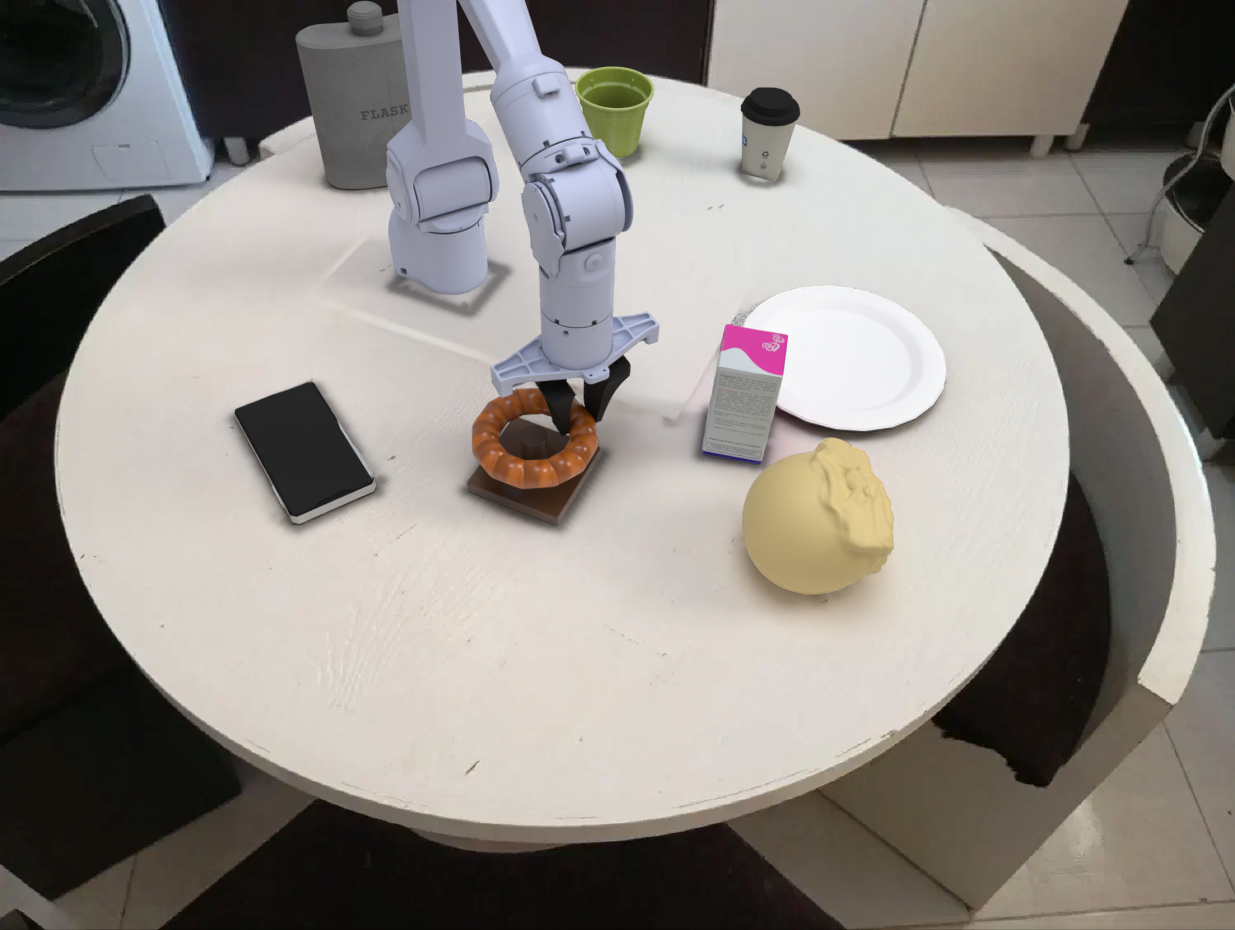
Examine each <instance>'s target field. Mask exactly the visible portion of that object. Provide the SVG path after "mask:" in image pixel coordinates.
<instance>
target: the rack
mask: <svg viewBox="0 0 1235 930" xmlns="http://www.w3.org/2000/svg"><path fill="white" fill-rule="evenodd" d="M569 440H570V437H569V434H567V435H564V436H562V435H561V434H560V433H559V431H558V430H555V429H551V428H549V427H547V426H543V425H541V424H538V423H535V422H533V421H530V420H527V419H524V418H522V417H519V418H517V419H515V420H513V421H511V422H509V423H507V425H506V426H505V427H504V429H503V430H502V432H501V433H500V444H501V446H502V447H503V448H504V449H505V450H506V451H507V453H508V454H510V455H513V456H516V457H518V458H521V459H524V460H539V459H548V458H550V457H552V456H554V455H556V454H557V453H559V452H561V451H563V450H564V448H565V447H566V445H567V443H568V442H569ZM601 457H602V447H601V446H599V445H598V447H597V449H596V451H595V453H594V454H593V456H592V458H591V459H590V461H589V463H588V464H587V466H586V468H585V469H584V471H583V472H581V473H580V474H578V475H576V476H574V477H573V478H571V479H569V480H567V481H565V482H563V483H561V484H560V485H558V486H555V487H549V488H533V489H520V488H517V487H514V486H512V485H509V484H506V483H504V482H501V481H499V480H496V479H494V478H492V477H491V476H490V475H489V474H488V473H487V472H486V471H485V469H484V468H483V467H482V466H481V464H480V463H479V465H478V466H477V468H476V469H475V470H474V472H473V473H472V475H471V476H470V478H469V479H468V480H467V482H466V488H467V489H466V490H467V492H468V493H471V494H473V495H476V496H479V497H480V498H481V497H482V498H484V499H487V500H490V501H493V502H495V503H497V504H500V505H502V506H505V507H508V508H510V509H513V510H515V511H517V512H520V513H523V514H525V515H528V516H531V517H533V518H536V519H538V520H540V521H543V522H546V523H548V524H551V525H554V526H556V527H558V526H559V525H560V524H561V521H562V520H563V519H564V517H565V515H566V514H567V512H568V510H569V509H570V507H571V506H572V504H573V502H574V501H575V499H576V497H577V496H578V494H579V492H580V491H581V489H582V487H584V484H585V483H586V481H587V479H588V478H589V476H590V474H591V473H592V471H593V469H594V468H595V466H596V464H597V463H598V461H599V460H600V458H601Z"/></svg>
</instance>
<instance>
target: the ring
mask: <svg viewBox="0 0 1235 930" xmlns="http://www.w3.org/2000/svg"><path fill="white" fill-rule="evenodd" d="M533 415H534V416H535V415H537V416H538V415H544V416H546V417H550V418H551V414H550V411H549V408H548V406H547V403H546V401H545V399H544V397H543V395H542V393H541V391H540V390H539V388H538V387H522V388H515V389H513V394H511V395H509V396H506V397H503V398H501V396H500V395H499V396H497V397H496V398H493V399H492V400H490V401H488V403H487V404H486V405H485V406H484V408H483V409H482V410H481V412H480V413H479V414H478V416H477V417H476V419H475V420H474V421H473V423H472V426H471V452H472V456H473V457H474V459H475V460H476V461H477V462H478V463H479V465H480V464H481V466H482V467H483V468H484V469H485V471H486V472H487V473H488V474H489V475H490V476H491V477H492V478H494V479H496V480H499V481H501V482H504V483H506V484H509V485H512V486H514V487H517V488H520V489H533V488H549V487H555V486H558V485H560V484H561V483H563V482H565V481H567V480H569V479H571V478H573V477H574V476H576V475H578V474H580V473H581V472H583V471H584V469H585V468H586V466H587V464H588V463H589V461H590V459H591V458H592V456H593V454H594V453H595V451H596V449H597V447H598V446H599V440H598V432H597V423H595V419H594V417H593V416H592V414H591V413H590V412H589V411H588V410H587V409H586V408H585V407H584V404H583V403H582V402H580V401H579V399H578V398H577V397H575V398H574V400H573V402H572V406H571V411H570V425H571V428H570V431H569V434H568V436H569V437H570V440H569V442H568V443H567V445H566V447H565V448H564V450H563V451H561V452H559V453H557V454H556V455H554V456H552V457H550V458H548V459H539V460H524V459H521V458H518V457H516V456H513V455H510V454H508V453H507V451H506V450H505V449H504V448H503V447H502V446H501V444H500V435H501V434H502V432H503V431H504V429H505V428H506V427H507V425H508V424H509V423H510V422H511V421H513V420H515V419H517V418H522V416H533Z"/></svg>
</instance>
